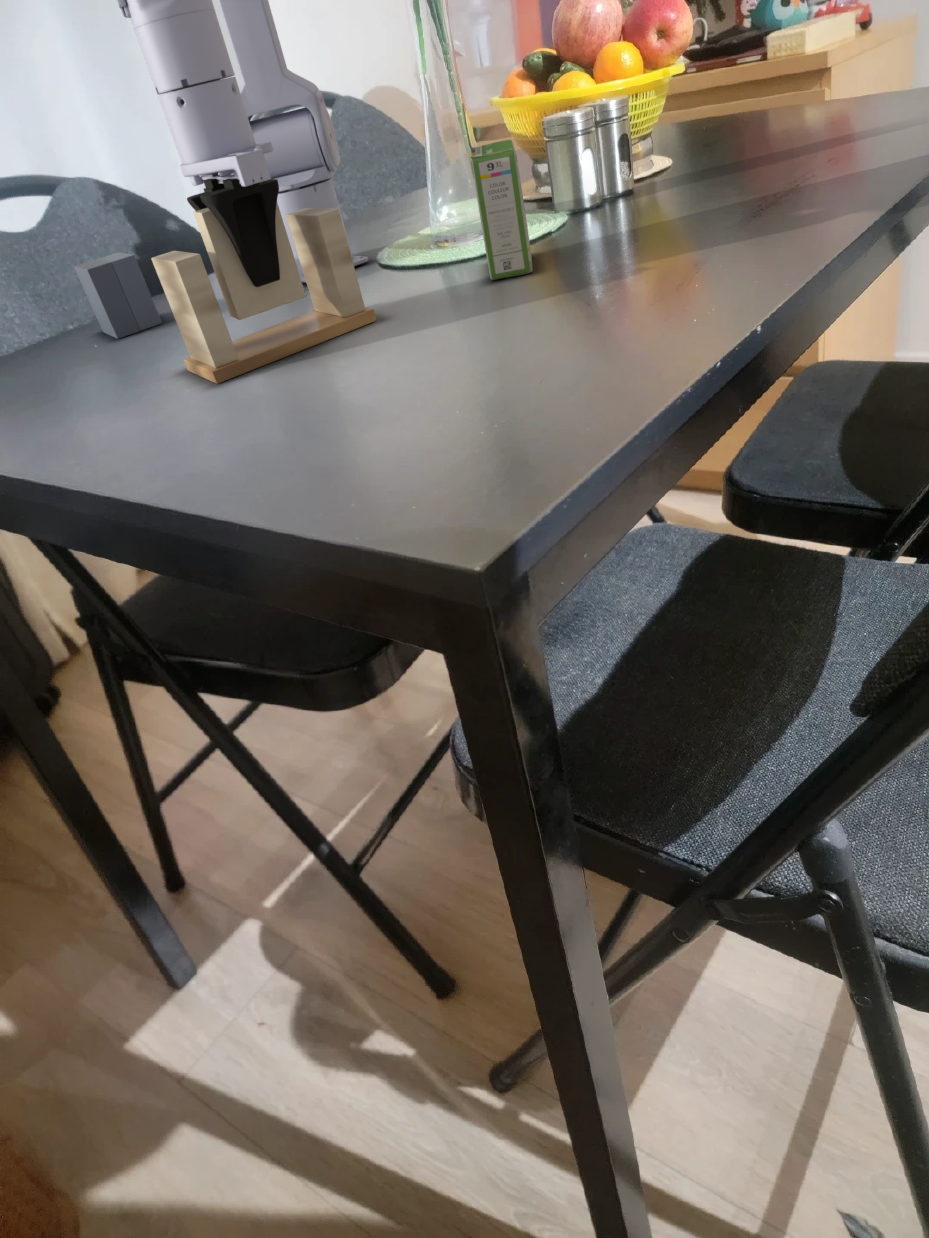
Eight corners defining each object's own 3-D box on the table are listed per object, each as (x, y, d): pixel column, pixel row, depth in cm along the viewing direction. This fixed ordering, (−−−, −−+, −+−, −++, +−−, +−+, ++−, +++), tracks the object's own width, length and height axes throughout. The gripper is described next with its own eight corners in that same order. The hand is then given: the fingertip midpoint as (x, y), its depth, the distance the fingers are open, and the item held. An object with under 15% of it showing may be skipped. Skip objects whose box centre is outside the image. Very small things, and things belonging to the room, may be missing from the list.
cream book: (239, 320, 66) (201, 213, 62) (230, 316, 68) (192, 212, 63) (306, 297, 68) (274, 191, 63) (296, 294, 70) (264, 191, 65)
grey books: (103, 332, 90) (73, 266, 86) (146, 317, 92) (118, 252, 88) (117, 339, 86) (86, 269, 82) (162, 323, 88) (134, 254, 84)
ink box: (535, 273, 72) (508, 96, 65) (490, 282, 73) (458, 108, 65) (531, 255, 78) (506, 91, 70) (490, 264, 78) (461, 102, 71)
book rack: (187, 371, 70) (142, 259, 64) (339, 312, 75) (308, 206, 70) (217, 384, 64) (170, 264, 59) (376, 320, 70) (347, 206, 65)
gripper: (281, 63, 55) (339, 274, 63) (220, 83, 66) (277, 260, 74) (180, 87, 53) (254, 303, 60) (135, 103, 64) (202, 284, 71)
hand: (261, 281), depth 67 cm, fingers closed on cream book, 2 cm apart
